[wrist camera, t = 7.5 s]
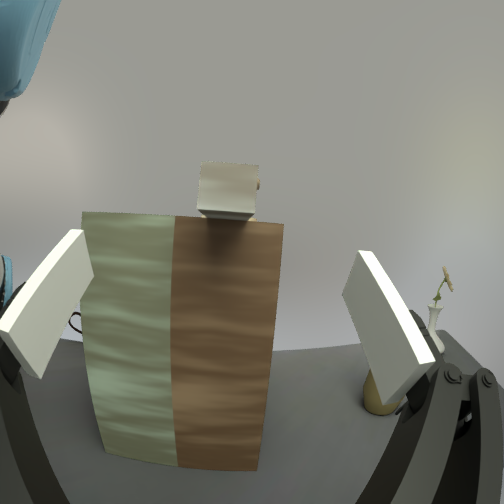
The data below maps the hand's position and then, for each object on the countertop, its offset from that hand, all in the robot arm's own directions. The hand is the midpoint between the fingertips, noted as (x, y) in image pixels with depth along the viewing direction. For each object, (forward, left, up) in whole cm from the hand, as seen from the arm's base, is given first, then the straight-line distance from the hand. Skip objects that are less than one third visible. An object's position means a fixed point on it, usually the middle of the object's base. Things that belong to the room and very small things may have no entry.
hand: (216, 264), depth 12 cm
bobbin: (-7, +13, +3) cm, 15 cm away
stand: (-13, +14, -26) cm, 32 cm away
